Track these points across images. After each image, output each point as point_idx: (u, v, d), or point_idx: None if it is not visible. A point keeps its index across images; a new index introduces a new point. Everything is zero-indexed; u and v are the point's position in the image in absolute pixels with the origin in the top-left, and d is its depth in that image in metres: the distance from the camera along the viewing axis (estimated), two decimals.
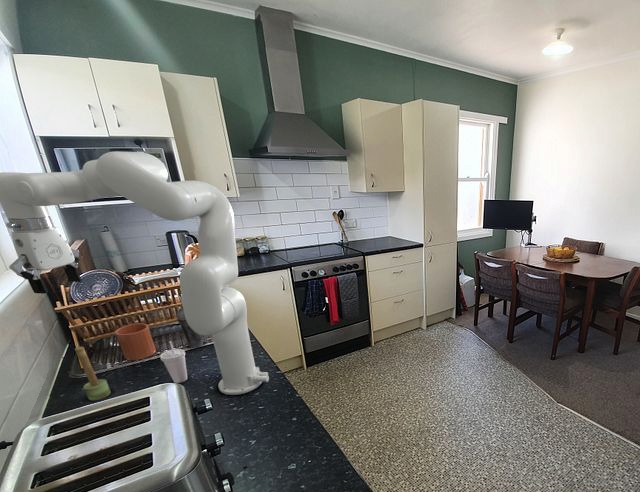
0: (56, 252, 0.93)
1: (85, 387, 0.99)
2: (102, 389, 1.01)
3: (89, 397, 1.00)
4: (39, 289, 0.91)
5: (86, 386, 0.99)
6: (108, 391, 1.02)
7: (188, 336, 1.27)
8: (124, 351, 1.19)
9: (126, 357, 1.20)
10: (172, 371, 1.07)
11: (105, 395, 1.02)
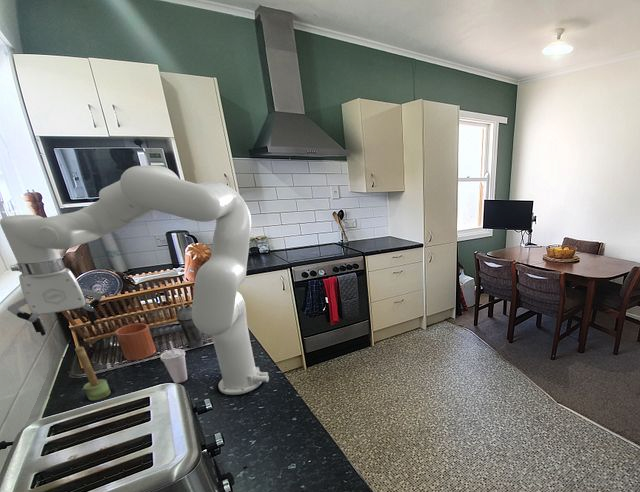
0: (57, 297, 0.88)
1: (85, 387, 0.99)
2: (102, 389, 1.01)
3: (89, 397, 1.00)
4: (37, 331, 0.88)
5: (86, 386, 0.99)
6: (108, 391, 1.02)
7: (188, 336, 1.27)
8: (124, 351, 1.19)
9: (126, 357, 1.20)
10: (172, 371, 1.07)
11: (105, 395, 1.02)
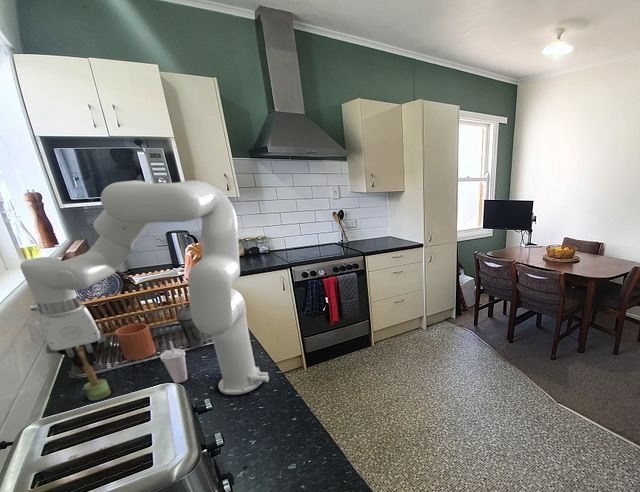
0: (74, 333, 0.92)
1: (85, 387, 0.99)
2: (102, 389, 1.01)
3: (89, 397, 1.00)
4: (75, 364, 0.96)
5: (86, 386, 0.99)
6: (108, 391, 1.02)
7: (188, 336, 1.27)
8: (124, 351, 1.19)
9: (126, 357, 1.20)
10: (172, 371, 1.07)
11: (105, 395, 1.02)
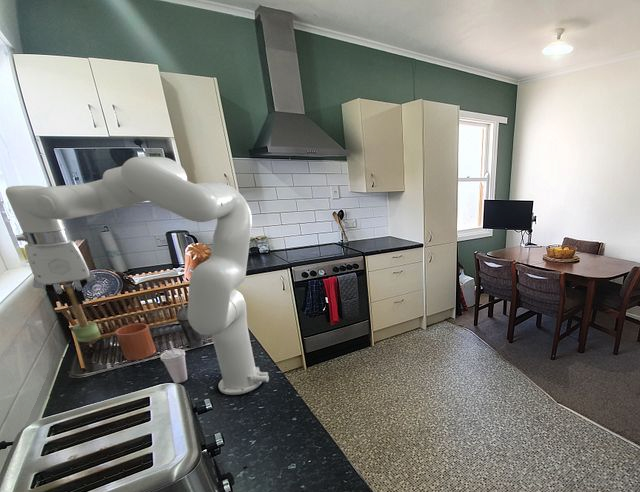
0: (62, 267, 0.90)
1: (74, 328, 0.97)
2: (92, 330, 0.98)
3: (78, 338, 0.97)
4: (64, 302, 0.93)
5: (75, 327, 0.97)
6: (98, 333, 1.00)
7: (188, 336, 1.27)
8: (124, 351, 1.19)
9: (126, 357, 1.20)
10: (172, 371, 1.07)
11: (95, 337, 0.99)
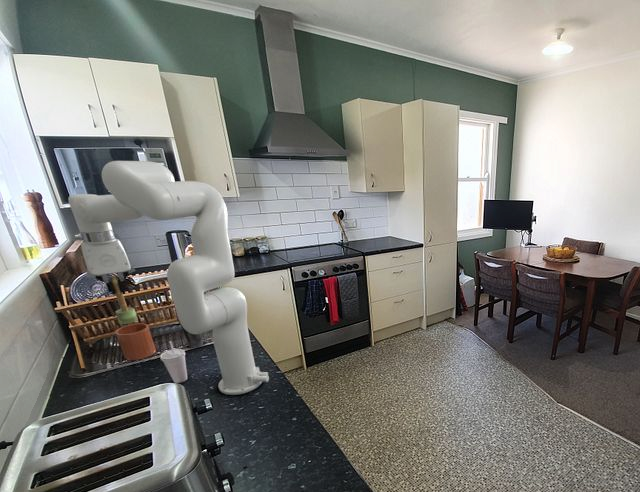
0: (110, 261, 1.08)
1: (117, 312, 1.16)
2: (131, 314, 1.17)
3: (120, 321, 1.16)
4: (109, 290, 1.12)
5: (117, 311, 1.16)
6: (136, 317, 1.19)
7: (188, 336, 1.27)
8: (124, 351, 1.19)
9: (126, 357, 1.20)
10: (172, 371, 1.07)
11: (133, 320, 1.18)
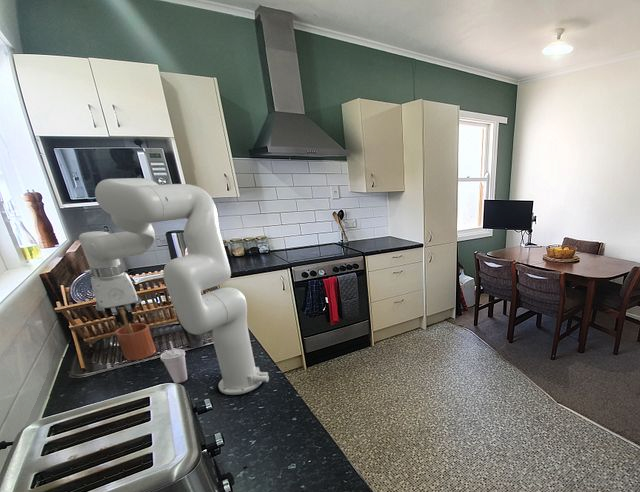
0: (118, 294, 1.13)
1: None
2: None
3: None
4: (118, 321, 1.16)
5: None
6: None
7: (188, 336, 1.27)
8: (124, 351, 1.19)
9: (126, 357, 1.20)
10: (172, 371, 1.07)
11: None
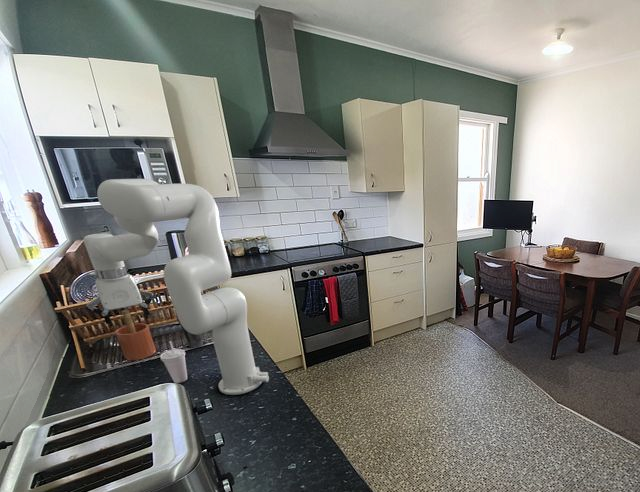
0: (122, 296, 1.13)
1: None
2: None
3: None
4: (107, 323, 1.14)
5: None
6: None
7: (188, 336, 1.27)
8: (124, 351, 1.19)
9: (126, 357, 1.20)
10: (172, 371, 1.07)
11: None
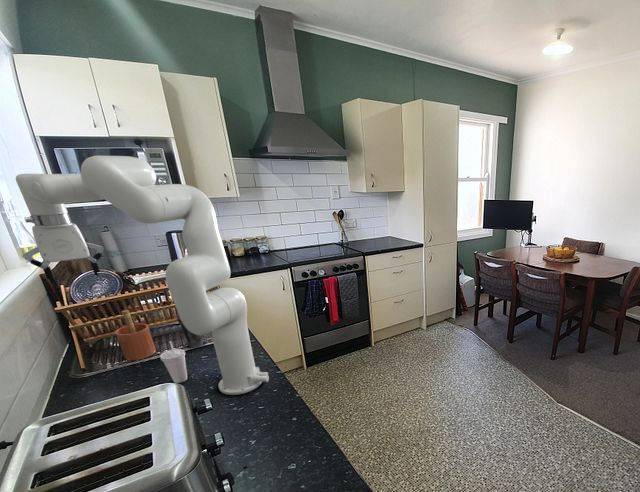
0: (65, 247, 1.00)
1: None
2: None
3: None
4: (48, 277, 1.01)
5: None
6: None
7: (188, 336, 1.27)
8: (124, 351, 1.19)
9: (126, 357, 1.20)
10: (172, 371, 1.07)
11: None
